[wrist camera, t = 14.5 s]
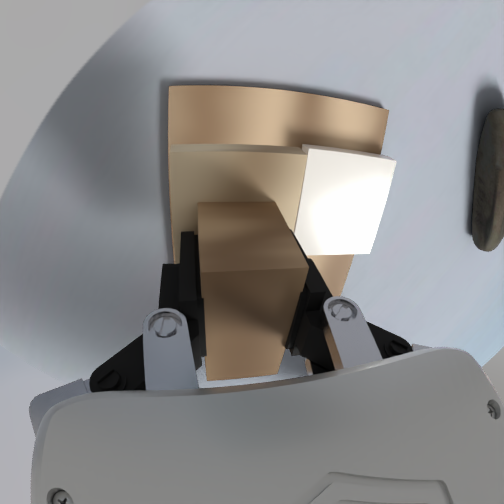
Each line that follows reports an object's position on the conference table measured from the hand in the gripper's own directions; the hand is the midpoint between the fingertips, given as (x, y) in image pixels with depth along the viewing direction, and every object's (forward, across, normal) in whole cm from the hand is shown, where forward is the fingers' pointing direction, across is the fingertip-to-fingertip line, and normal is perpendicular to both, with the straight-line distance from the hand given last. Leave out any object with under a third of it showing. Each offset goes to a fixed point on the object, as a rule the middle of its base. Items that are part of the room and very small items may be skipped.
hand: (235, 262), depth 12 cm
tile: (+7, -9, +5) cm, 12 cm away
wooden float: (+2, 0, 0) cm, 2 cm away
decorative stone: (+9, -29, -4) cm, 31 cm away
